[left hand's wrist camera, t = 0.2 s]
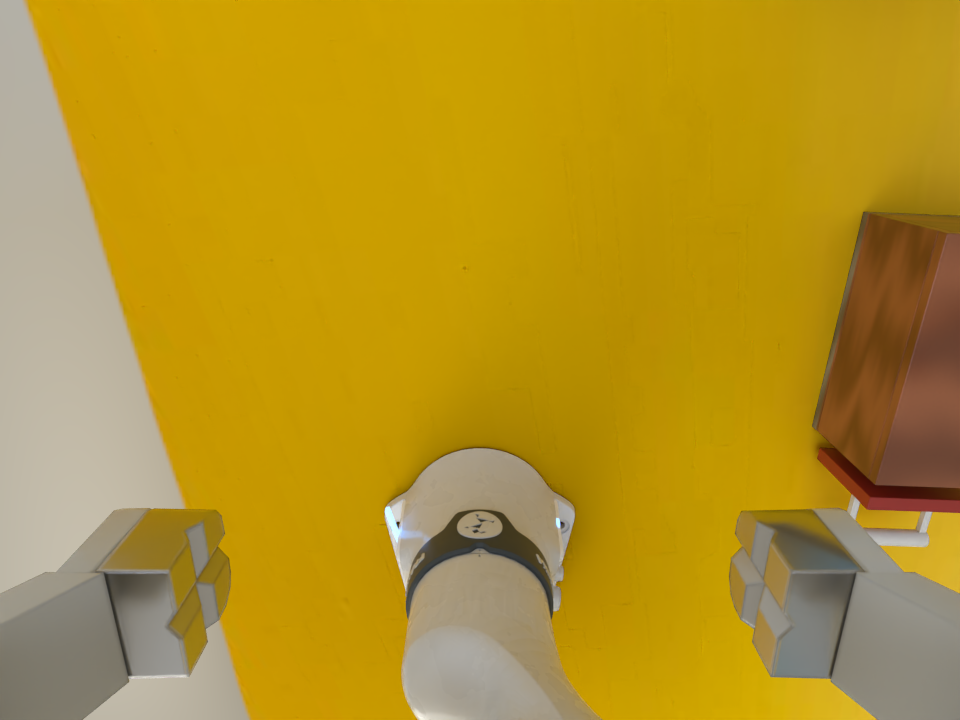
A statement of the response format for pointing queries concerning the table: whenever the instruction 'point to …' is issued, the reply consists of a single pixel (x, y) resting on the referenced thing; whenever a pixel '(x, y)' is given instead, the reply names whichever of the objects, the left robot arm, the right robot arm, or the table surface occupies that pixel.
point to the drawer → (890, 500)
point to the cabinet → (898, 354)
